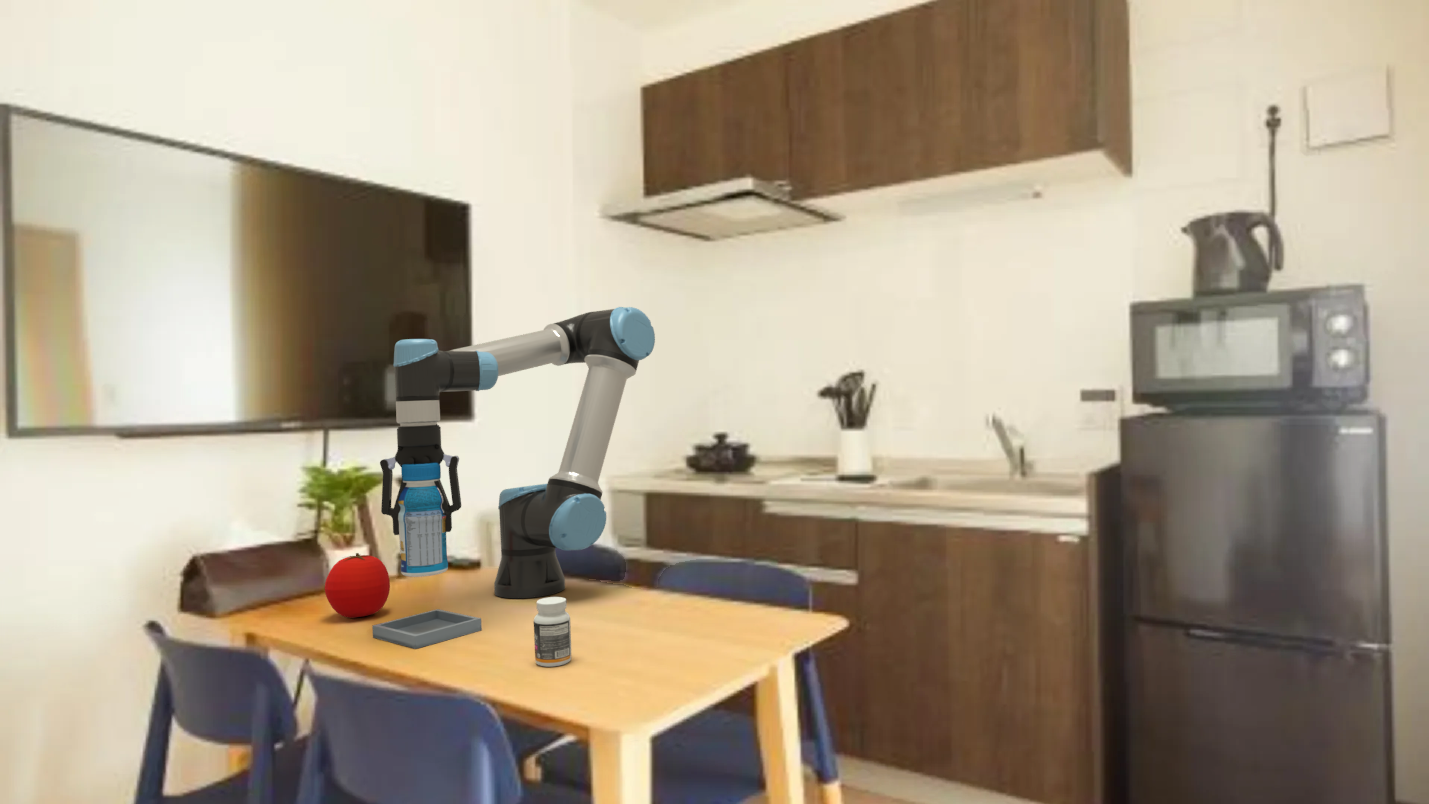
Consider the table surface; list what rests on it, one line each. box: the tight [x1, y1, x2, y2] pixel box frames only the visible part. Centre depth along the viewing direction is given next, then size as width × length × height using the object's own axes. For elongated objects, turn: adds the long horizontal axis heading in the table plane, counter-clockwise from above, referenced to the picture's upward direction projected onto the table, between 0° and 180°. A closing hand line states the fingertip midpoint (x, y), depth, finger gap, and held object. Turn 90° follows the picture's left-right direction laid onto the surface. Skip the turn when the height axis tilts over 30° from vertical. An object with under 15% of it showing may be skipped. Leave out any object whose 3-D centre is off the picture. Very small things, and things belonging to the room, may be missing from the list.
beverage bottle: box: [398, 463, 449, 578], centre depth 159 cm, size 8×8×20 cm
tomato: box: [324, 552, 391, 619], centre depth 174 cm, size 12×12×13 cm
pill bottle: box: [533, 596, 572, 668], centre depth 139 cm, size 6×6×10 cm
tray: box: [372, 608, 483, 650], centre depth 159 cm, size 14×14×2 cm
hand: (423, 551), depth 159 cm, fingers closed on beverage bottle, 6 cm apart
